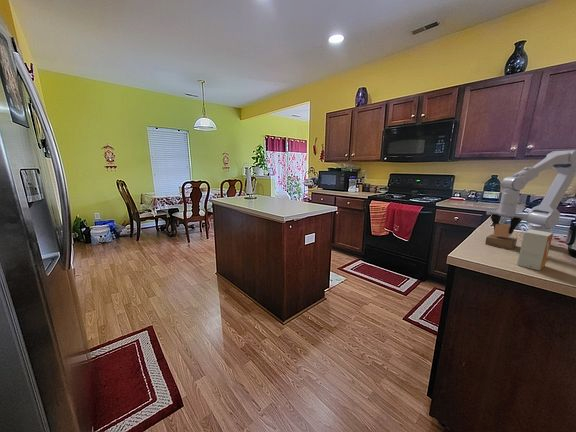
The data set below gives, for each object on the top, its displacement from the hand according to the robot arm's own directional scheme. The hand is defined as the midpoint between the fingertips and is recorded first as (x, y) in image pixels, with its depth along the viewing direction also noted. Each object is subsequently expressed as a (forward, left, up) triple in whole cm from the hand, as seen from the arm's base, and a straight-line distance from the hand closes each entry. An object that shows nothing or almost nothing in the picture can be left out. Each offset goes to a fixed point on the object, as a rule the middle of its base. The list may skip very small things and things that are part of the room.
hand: (502, 231), depth 111 cm
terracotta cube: (0, 0, -2) cm, 2 cm away
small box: (+20, +16, -7) cm, 26 cm away
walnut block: (0, 0, -7) cm, 7 cm away
